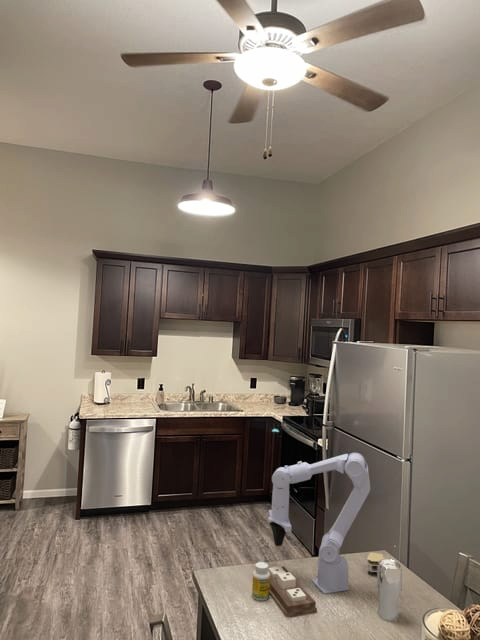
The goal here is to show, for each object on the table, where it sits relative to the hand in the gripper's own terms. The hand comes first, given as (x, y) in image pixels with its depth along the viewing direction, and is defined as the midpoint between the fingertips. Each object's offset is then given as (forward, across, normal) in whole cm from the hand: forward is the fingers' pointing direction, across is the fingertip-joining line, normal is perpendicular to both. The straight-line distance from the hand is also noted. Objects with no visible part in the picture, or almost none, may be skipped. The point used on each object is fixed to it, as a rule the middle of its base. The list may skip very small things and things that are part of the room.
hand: (278, 545), depth 158 cm
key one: (+9, +4, -2) cm, 10 cm away
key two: (+8, +11, -2) cm, 14 cm away
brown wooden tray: (+10, +11, -2) cm, 15 cm away
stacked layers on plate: (+11, +6, +35) cm, 37 cm away
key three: (+9, +18, -2) cm, 20 cm away
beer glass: (+11, +29, +23) cm, 39 cm away
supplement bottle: (+11, +10, -10) cm, 18 cm away
